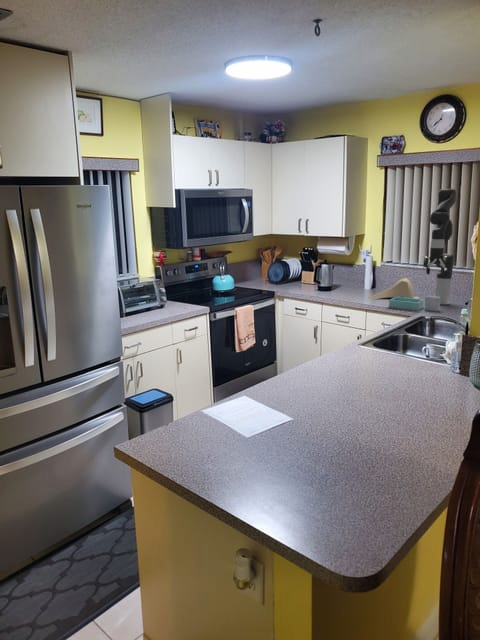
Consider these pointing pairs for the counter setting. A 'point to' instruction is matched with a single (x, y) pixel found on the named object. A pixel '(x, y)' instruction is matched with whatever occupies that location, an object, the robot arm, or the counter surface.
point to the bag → (397, 290)
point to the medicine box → (432, 303)
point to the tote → (406, 303)
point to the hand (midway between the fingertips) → (435, 274)
